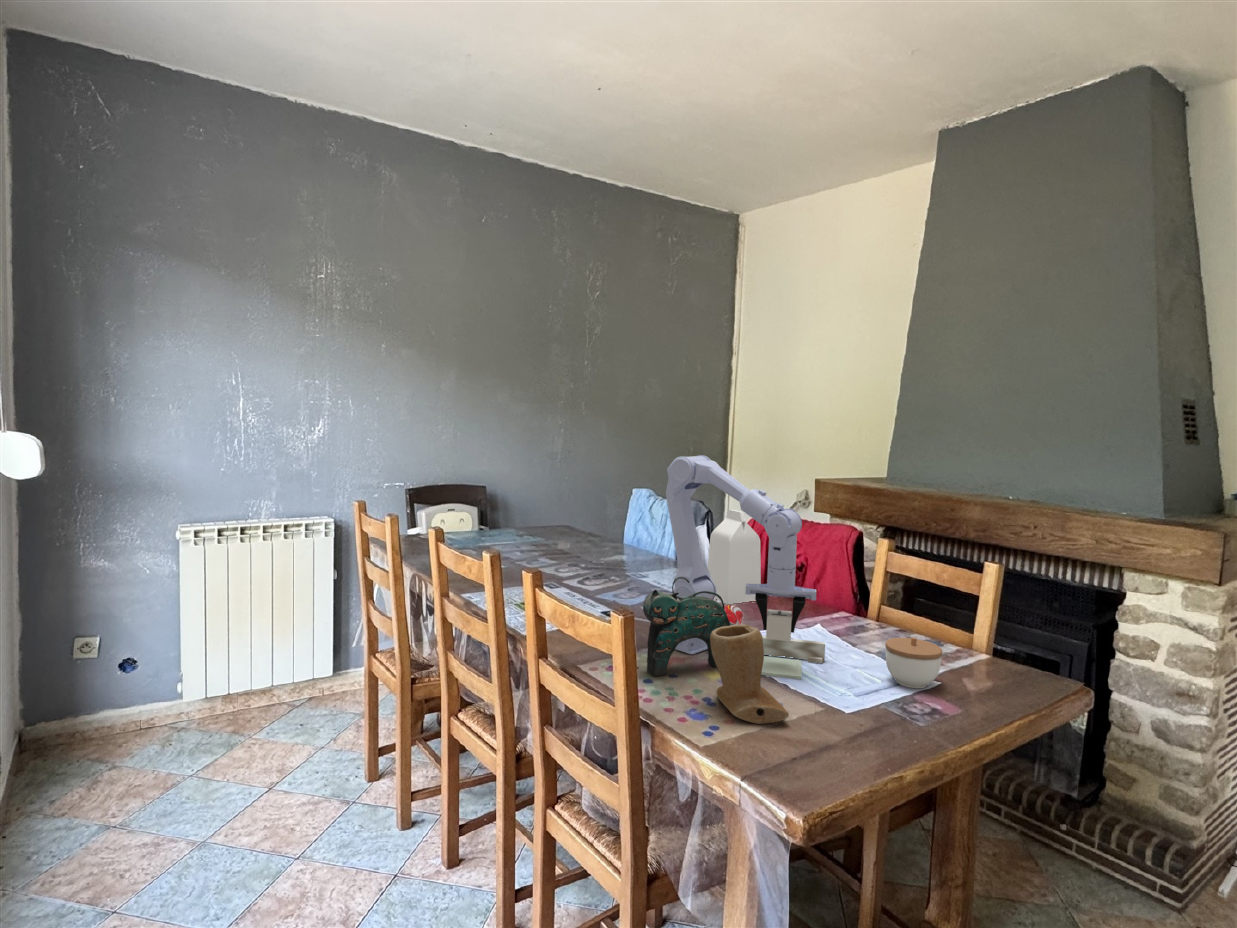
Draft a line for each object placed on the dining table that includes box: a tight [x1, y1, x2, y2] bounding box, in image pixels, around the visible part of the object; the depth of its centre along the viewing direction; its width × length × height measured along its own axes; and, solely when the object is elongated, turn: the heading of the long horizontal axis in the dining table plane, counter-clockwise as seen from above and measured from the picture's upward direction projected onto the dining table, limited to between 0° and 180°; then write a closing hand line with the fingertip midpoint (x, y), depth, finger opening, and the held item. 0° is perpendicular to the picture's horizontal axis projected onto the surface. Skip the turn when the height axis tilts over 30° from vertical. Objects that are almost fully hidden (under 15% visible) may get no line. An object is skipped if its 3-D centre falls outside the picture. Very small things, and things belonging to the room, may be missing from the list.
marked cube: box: [765, 608, 793, 641], centre depth 149 cm, size 5×5×5 cm
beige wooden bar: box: [762, 635, 826, 664], centre depth 157 cm, size 20×4×4 cm, turn 76°
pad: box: [761, 656, 803, 680], centre depth 149 cm, size 10×10×1 cm
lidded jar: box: [885, 636, 943, 689], centre depth 143 cm, size 11×11×9 cm
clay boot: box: [710, 624, 790, 725], centre depth 127 cm, size 15×12×15 cm
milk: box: [706, 508, 762, 605], centre depth 205 cm, size 12×12×26 cm
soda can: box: [724, 604, 746, 626], centre depth 167 cm, size 7×7×12 cm
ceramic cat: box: [642, 577, 730, 677], centre depth 147 cm, size 20×6×20 cm, turn 112°
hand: (778, 629), depth 149 cm, fingers closed on marked cube, 5 cm apart
